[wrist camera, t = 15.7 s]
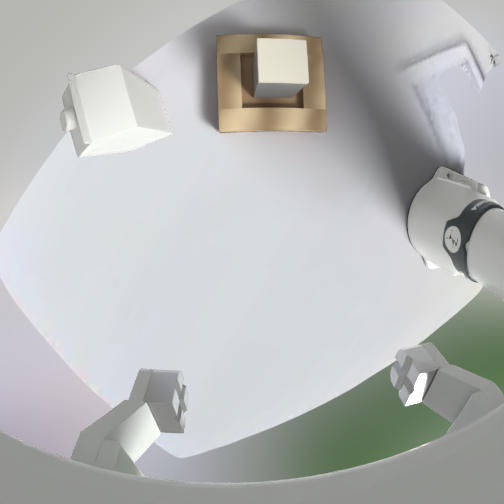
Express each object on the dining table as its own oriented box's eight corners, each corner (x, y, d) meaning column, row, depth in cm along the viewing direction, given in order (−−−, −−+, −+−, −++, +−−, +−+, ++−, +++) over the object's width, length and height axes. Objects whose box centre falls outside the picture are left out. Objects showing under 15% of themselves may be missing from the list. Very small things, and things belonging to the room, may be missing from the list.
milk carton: (159, 90, 34) (102, 52, 16) (173, 133, 36) (121, 124, 19) (116, 109, 34) (39, 93, 16) (129, 152, 37) (55, 161, 19)
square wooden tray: (315, 44, 32) (321, 37, 29) (320, 132, 37) (326, 131, 34) (218, 43, 32) (216, 35, 29) (220, 133, 37) (219, 131, 34)
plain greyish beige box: (289, 65, 32) (306, 40, 22) (291, 98, 34) (308, 82, 24) (252, 64, 32) (257, 38, 22) (253, 98, 33) (258, 81, 24)
